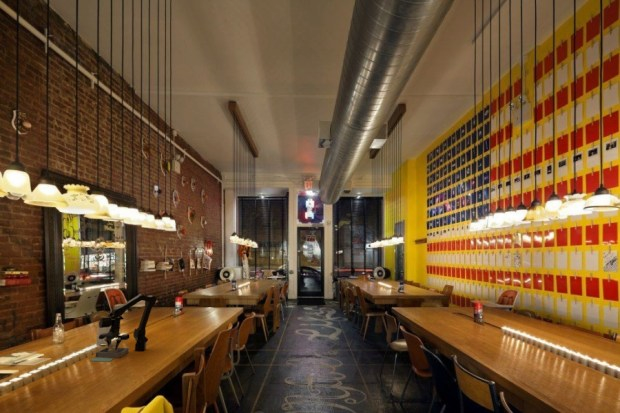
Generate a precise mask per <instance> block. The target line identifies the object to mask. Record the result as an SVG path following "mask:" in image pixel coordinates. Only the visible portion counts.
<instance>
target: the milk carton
mask: <svg viewBox="0 0 620 413" xmlns="http://www.w3.org/2000/svg"><path fill="white" fill-rule="evenodd" d="M110 328H111V326H110V327H105V328H100V327H99V324H98V326H97V335H96V342H95V343H96V344H108V343H107V341H105V340H104V339H105V338H104V339H99V335H100V334H103V333H108V332H109V331H110ZM96 344H95V345H96Z"/></svg>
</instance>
